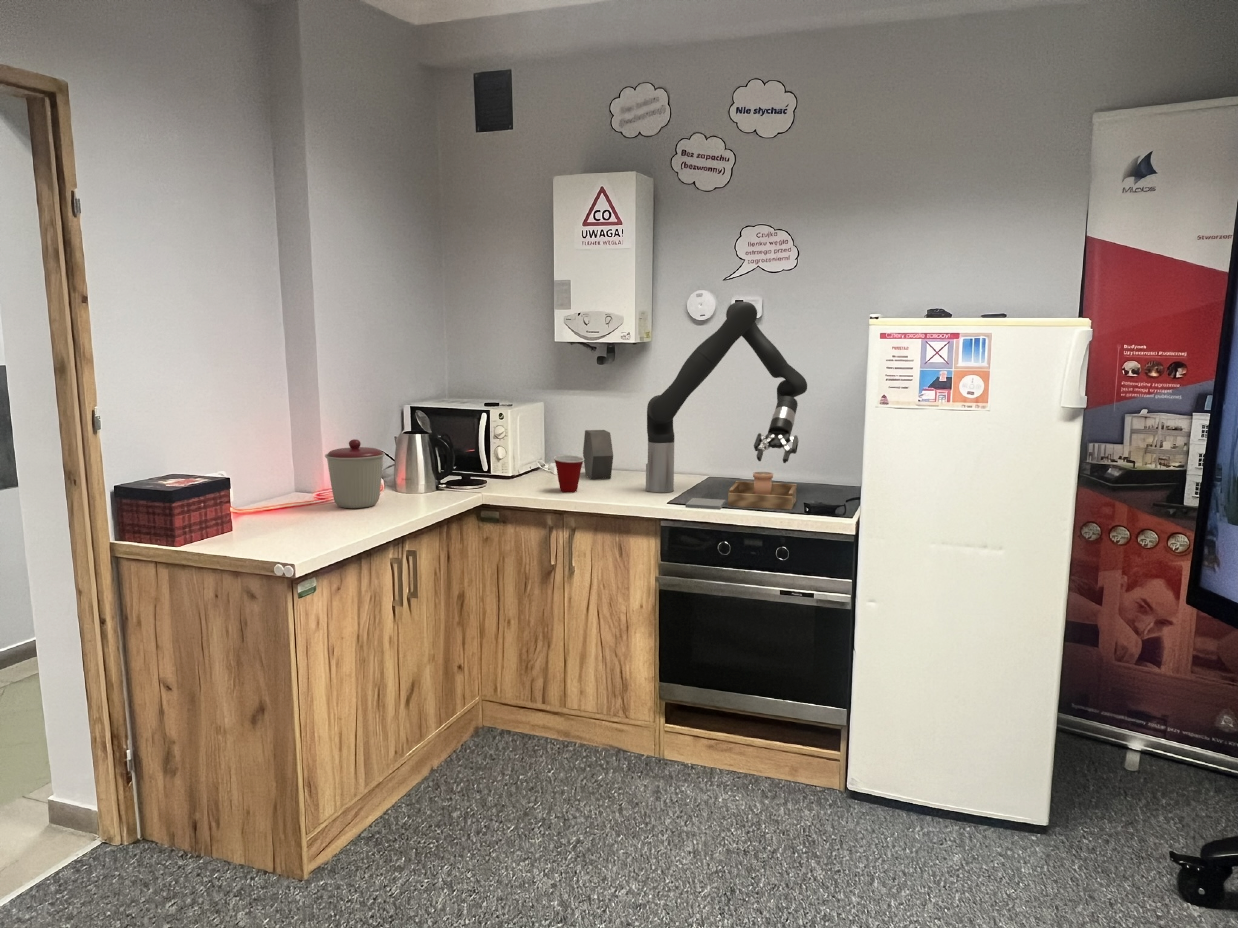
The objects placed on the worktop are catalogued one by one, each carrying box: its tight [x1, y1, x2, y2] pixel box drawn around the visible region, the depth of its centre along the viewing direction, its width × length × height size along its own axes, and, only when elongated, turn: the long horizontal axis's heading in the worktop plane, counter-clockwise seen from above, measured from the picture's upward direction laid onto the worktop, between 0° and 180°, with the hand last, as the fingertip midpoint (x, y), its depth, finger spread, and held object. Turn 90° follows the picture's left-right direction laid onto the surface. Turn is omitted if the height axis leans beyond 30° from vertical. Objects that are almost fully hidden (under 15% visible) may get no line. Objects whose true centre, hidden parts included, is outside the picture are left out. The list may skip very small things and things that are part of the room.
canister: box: [324, 438, 386, 509], centre depth 274 cm, size 18×18×21 cm
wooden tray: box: [727, 480, 797, 510], centre depth 283 cm, size 20×16×6 cm
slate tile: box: [685, 497, 727, 510], centre depth 280 cm, size 11×11×1 cm
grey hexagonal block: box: [582, 429, 614, 480], centre depth 333 cm, size 17×8×21 cm
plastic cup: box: [553, 454, 585, 493], centre depth 302 cm, size 11×11×12 cm
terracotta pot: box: [752, 471, 774, 495], centre depth 282 cm, size 6×6×10 cm
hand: (771, 460), depth 289 cm, fingers open, 8 cm apart
